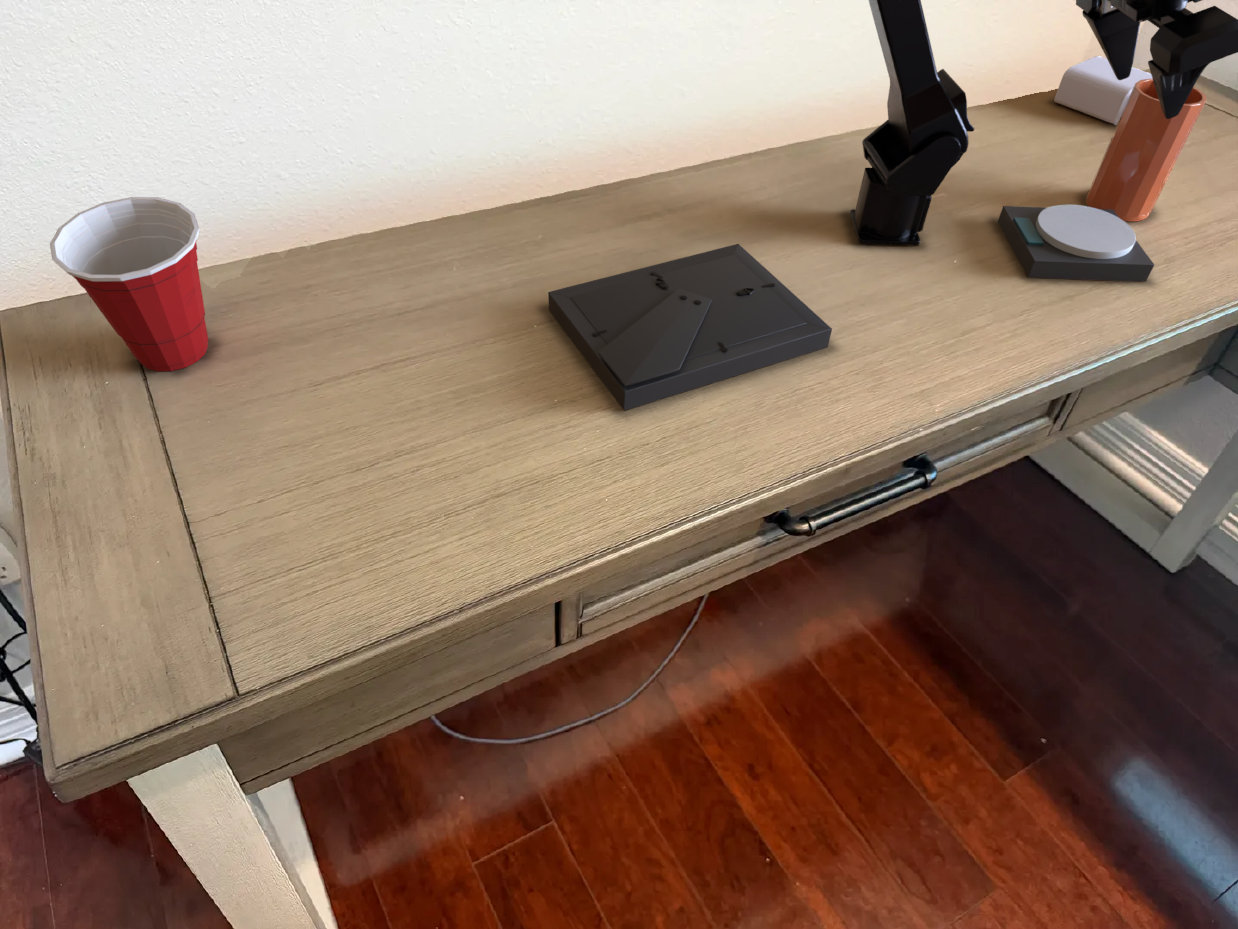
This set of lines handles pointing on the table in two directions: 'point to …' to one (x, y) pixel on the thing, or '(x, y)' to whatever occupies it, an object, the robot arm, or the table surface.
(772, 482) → the table surface
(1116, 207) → the tumbler
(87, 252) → the plastic cup
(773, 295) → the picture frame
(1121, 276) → the scale
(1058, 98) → the charger
